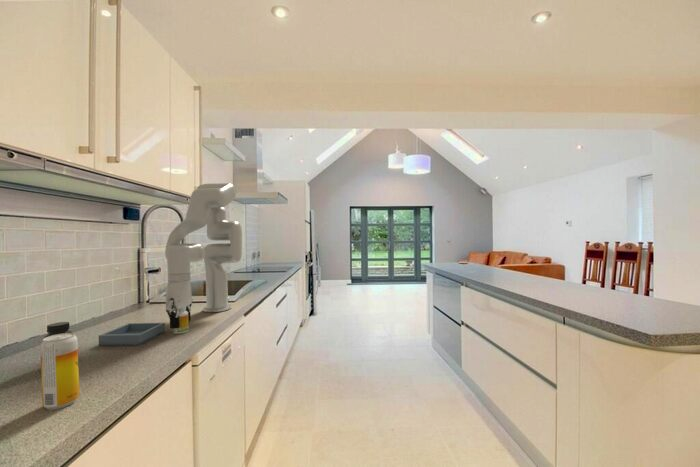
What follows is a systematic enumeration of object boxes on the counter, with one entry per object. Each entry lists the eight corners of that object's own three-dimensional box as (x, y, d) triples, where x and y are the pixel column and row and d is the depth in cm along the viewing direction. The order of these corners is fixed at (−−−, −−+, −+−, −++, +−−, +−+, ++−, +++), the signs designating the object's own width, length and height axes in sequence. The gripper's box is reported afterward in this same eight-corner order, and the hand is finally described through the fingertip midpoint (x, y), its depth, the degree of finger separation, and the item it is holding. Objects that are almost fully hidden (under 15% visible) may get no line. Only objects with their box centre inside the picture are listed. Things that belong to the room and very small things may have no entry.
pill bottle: (85, 395, 75) (83, 331, 74) (67, 409, 69) (64, 340, 68) (56, 397, 74) (54, 333, 73) (34, 412, 68) (32, 342, 67)
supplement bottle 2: (191, 329, 122) (191, 304, 122) (183, 334, 117) (182, 308, 117) (178, 329, 123) (177, 304, 123) (169, 334, 118) (168, 307, 117)
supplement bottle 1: (75, 365, 91) (73, 323, 91) (42, 373, 87) (40, 329, 87) (75, 358, 97) (73, 319, 96) (43, 365, 92) (42, 323, 92)
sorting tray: (129, 332, 121) (128, 323, 121) (165, 331, 120) (165, 322, 120) (98, 345, 107) (98, 335, 107) (139, 345, 106) (139, 335, 106)
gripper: (182, 274, 128) (183, 318, 129) (154, 281, 111) (156, 332, 111) (200, 274, 128) (201, 318, 129) (175, 281, 111) (177, 332, 111)
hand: (180, 324), depth 120 cm, fingers open, 6 cm apart
